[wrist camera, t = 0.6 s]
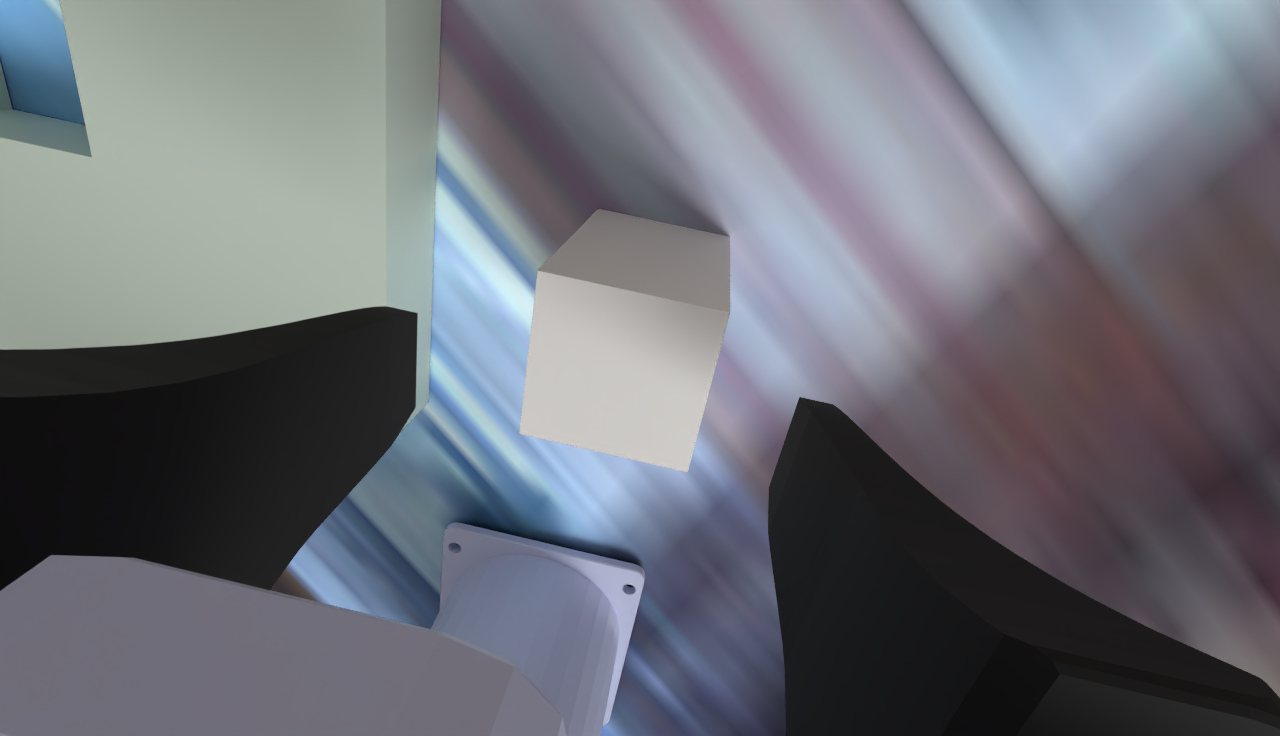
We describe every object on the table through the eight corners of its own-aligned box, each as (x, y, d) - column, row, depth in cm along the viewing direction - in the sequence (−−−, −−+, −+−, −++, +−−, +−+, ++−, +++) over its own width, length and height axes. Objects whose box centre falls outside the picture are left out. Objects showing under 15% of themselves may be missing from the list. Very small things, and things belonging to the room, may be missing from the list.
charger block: (699, 356, 20) (687, 472, 14) (580, 329, 20) (519, 433, 14) (729, 236, 18) (730, 312, 12) (598, 208, 18) (537, 270, 13)
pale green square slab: (428, 401, 22) (386, 446, 19) (9, 305, 23) (-87, 336, 20) (446, -162, 15) (384, -213, 12) (-165, -280, 16) (-351, -354, 13)
